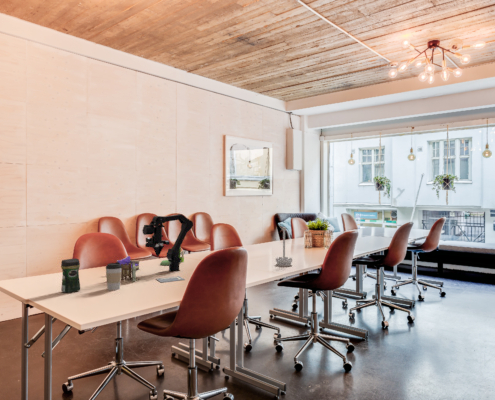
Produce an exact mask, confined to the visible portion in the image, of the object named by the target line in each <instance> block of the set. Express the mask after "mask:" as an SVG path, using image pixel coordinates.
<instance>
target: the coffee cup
mask: <svg viewBox="0 0 495 400" xmlns="http://www.w3.org/2000/svg"><path fill="white" fill-rule="evenodd" d="M121 268H122V267H121V265H120V263H118V262H112V263H107V264H106V265H105V278H106V284H107V290H108V291H117V290H120V289H121V281H122V280H121Z"/></svg>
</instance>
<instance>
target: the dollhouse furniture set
mask: <svg viewBox="0 0 495 400" xmlns="http://www.w3.org/2000/svg"><path fill="white" fill-rule="evenodd" d="M171 248H173V246H172V247H171ZM184 254H185V251H184V250H182V247H181V246H180V249H179V255H178V257H179V258H180V259H181V261H180V262H179V265H180V264H181V263H184V261H185V256H184ZM169 264H170V262H169V261H168V259H165V260H164V259H163V260H162V261H160V263H159V265H160V266H169Z"/></svg>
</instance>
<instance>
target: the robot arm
mask: <svg viewBox="0 0 495 400" xmlns="http://www.w3.org/2000/svg"><path fill="white" fill-rule="evenodd" d="M172 221H178V222H179V223H180V224H181V225H180V232H179V234H178V236H177V238H176V240H175V242H174V243H173V246H172V247H173V248H172V247H171V248H168V250H167V252H166V255H165V256H166V260H168V261H169V262H170V264H169V265H168V270H169V271H170V272H177V271H178V272H180V264H179V262H180V261H181V259H180V258H179V257H178V255H179V249H180V247H181V246H182V244H183V242H184V241H185V238H186V236H187V233H189V232H190V231H191V230H192V229H193V226H194V222H193V220H191V219H189V218H188V217H186V216H185V215H184V214H182V213H181V214H179V213H178V214H172V215H167V216H166V215H165V216H162V215H154V216H153V217H152V219H151V221H150V223H149V224H144V225H143V227H142V230H141V231H142V234H143V235H144V236H147V235H149V236H150V235H152V236H151V237H149V236H148V237H145V242H146V243H145V248H152V249H153V250H154V253H155V256H156V257H159V256H160V255H161V252H162V250H163V249H164V247H165V245H167V246H169V245H170V241H169V240H166V239H163V237H164V234H163V228H165V225H164V224H165V223H167V222H172Z"/></svg>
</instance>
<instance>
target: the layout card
mask: <svg viewBox="0 0 495 400" xmlns="http://www.w3.org/2000/svg"><path fill="white" fill-rule="evenodd" d="M155 281H157V282H159V283H161V284H162V283H170V282H178V281H185V278H184V277H181V276H179V275H177V276H171V277H169V276H168V277H159V278H155Z"/></svg>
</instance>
